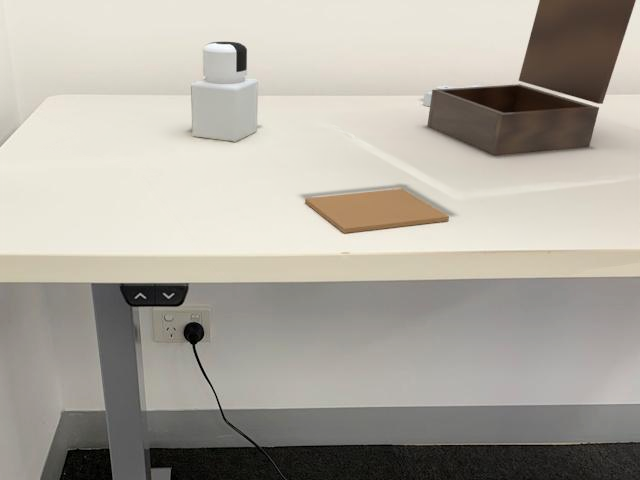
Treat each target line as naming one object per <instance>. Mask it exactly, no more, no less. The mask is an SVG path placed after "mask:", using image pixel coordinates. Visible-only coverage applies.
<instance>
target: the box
mask: <svg viewBox="0 0 640 480" xmlns="http://www.w3.org/2000/svg"><path fill="white" fill-rule="evenodd" d="M483 86H484V85H483ZM431 92H432V96H431V103H430V106H429V111H428V119H427V127H428V128H430V129H432V130H435V131H436V132H439V133H441V134H444V135H446V136H448V137H450V138H453V139H455V140H457V141H460V142H462V143H464V144H466V145H469V146H471V147H474V148H476V149H479V150H480V151H482V152H485V153H488V154H490V155H492V156H494V157H497V156H498V157H499V156H509V155H517V154H519V155H520V154H531V153H539V152H540V153H541V152H553V151H562V150H572V149H584V148H590V146H591V141H592V139H593V135H594V134H593V133H594V130H595V126H596V122H597V118H598V115H599V110H600V107H599V106H596V105H593V104H592V105H591V104H589V103H585V102H582V101H579V100H576V99H572V98H568V97H565V96H562V95H558V94H555V93H551V92H548V91H544V90H540V89H538V88H535V87H530V86H527V85H524V84H520V83H519V84H518V83H517V84H503V85H501V84H499V85H487V86H486V85H485V86H484V87H468V88H452V89H436V88H435V89H432V90H431Z"/></svg>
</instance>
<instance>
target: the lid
mask: <svg viewBox="0 0 640 480" xmlns="http://www.w3.org/2000/svg"><path fill="white" fill-rule="evenodd" d="M636 1H637V0H538V6H537V9H536V13H535V16H534V19H533V25H532V27H531V31H530V35H529V39H528V43H527V47H526V49H525V50H526V51H525V54H524V58H523V63H522V66H521V70H520V72H519V73H520V74H519V78H518V82H521V83H525V84H528V85H532V86H535V87H539V88H542V89H546V90H549V91H553V92H555V93H559V94H563V95H567V96H570V97H574V98H577V99H580V100H584V101H588V102H591V103H594V104H597V105H603V104H604V100H605V97H606V95H607V91H608V88H609V85H610V82H611V79H612V76H613V73H614V70H615V67H616V64H617V61H618V57H619V54H620V51H621V49H622V45H623V41H624V39H625V36H626V34H627V33H626V32H627V30H628V26H629V23H630V21H631V17H632V13H633V11H634V8H635V4H636Z"/></svg>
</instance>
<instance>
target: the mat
mask: <svg viewBox="0 0 640 480" xmlns="http://www.w3.org/2000/svg"><path fill="white" fill-rule="evenodd" d="M304 204H306V205H307V206H308V207H310V208H311V209H312V210H314V211H315V212H316V213H317V214H319V215H320V216H321V217H323V218H324V219H325V220H326V221H328V222H329V223H330V224H332V225H333V226H334V227H336V228H337V229H338V230H339V231H340V232H341V233H343V234H348V233H357V232H366V231H374V230H383V229H393V228H400V227H407V226H409V227H410V226H415V225H416V226H418V225H426V224H434V223H443V222H449V220H450V216H449V215H448V214H446V213H444V212H443V211H441V210H439V209H437V208H436V207H435V206H432V205H431V204H429V203H427V202H425V201H424V200H422V199H421V198H419V197H417V196H415V194H412V193H410V192H409V191H407V190H405V189H404V188H394V189H393V188H392V189H384V190H374V191H364V192H354V193H345V194H344V193H343V194H335V195H325V196H315V197H306V198H304Z"/></svg>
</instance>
